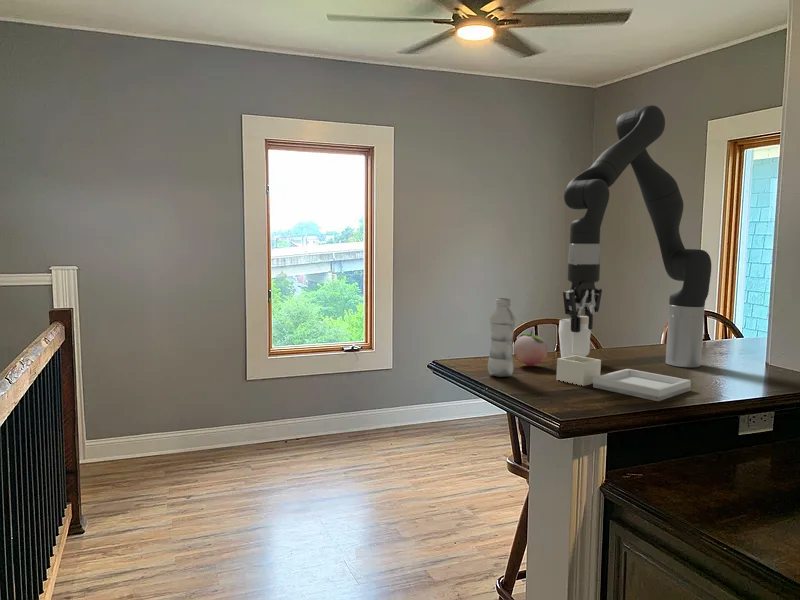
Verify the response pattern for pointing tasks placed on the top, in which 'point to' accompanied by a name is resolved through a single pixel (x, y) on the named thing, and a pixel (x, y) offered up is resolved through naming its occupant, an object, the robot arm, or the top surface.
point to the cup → (566, 338)
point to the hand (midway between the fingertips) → (581, 330)
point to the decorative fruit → (530, 349)
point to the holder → (578, 369)
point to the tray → (642, 384)
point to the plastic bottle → (501, 339)
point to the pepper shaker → (582, 338)
